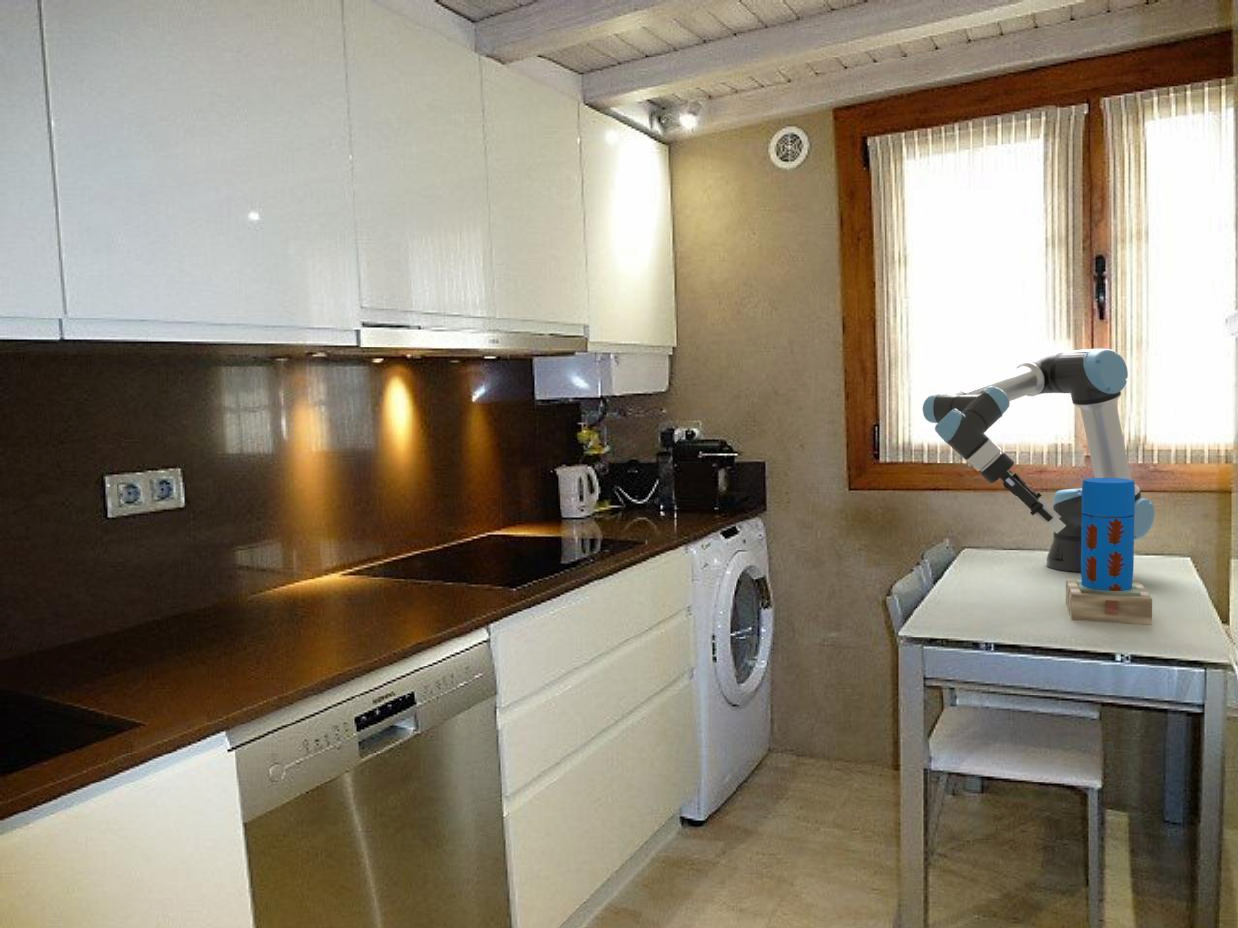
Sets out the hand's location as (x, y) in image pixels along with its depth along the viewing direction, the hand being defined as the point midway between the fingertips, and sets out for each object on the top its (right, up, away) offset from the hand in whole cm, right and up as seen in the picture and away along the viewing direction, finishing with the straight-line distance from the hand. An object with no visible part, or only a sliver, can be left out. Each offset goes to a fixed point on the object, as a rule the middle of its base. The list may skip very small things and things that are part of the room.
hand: (1059, 525), depth 211 cm
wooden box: (+10, -21, -2) cm, 23 cm away
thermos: (+10, -14, -3) cm, 18 cm away
